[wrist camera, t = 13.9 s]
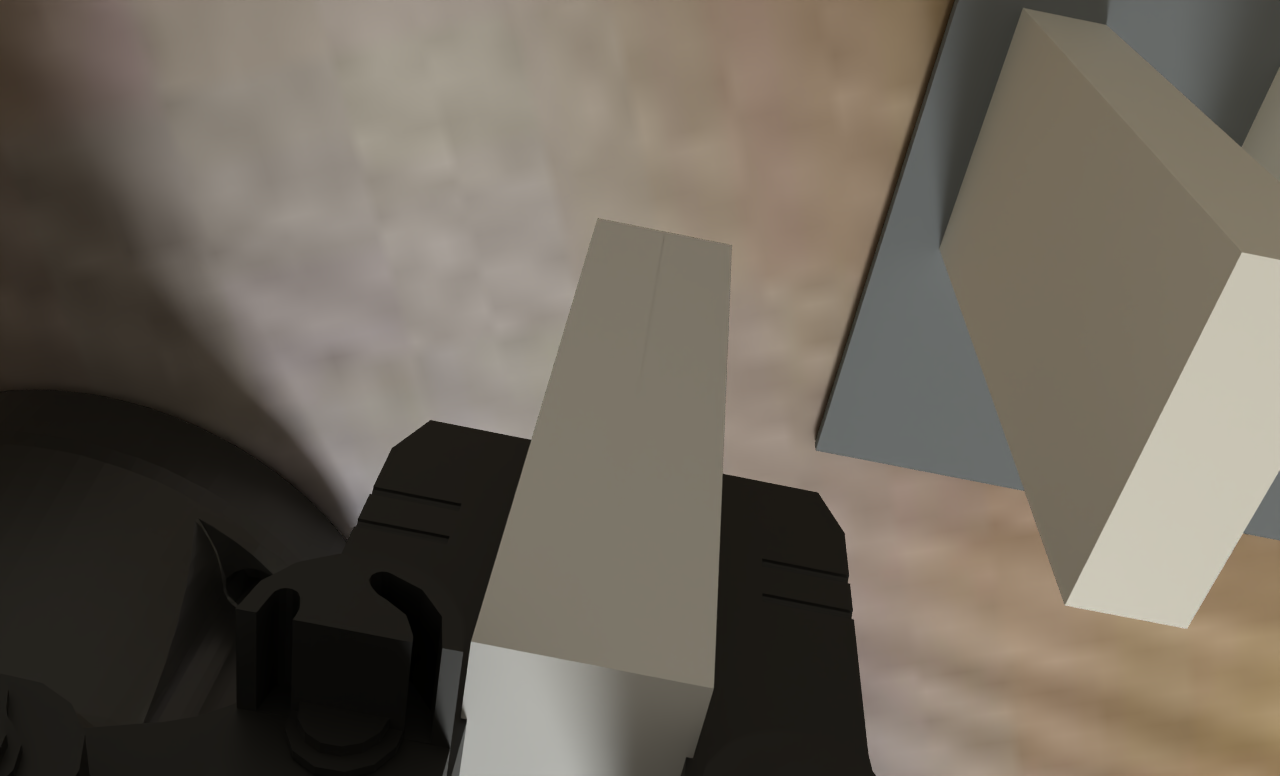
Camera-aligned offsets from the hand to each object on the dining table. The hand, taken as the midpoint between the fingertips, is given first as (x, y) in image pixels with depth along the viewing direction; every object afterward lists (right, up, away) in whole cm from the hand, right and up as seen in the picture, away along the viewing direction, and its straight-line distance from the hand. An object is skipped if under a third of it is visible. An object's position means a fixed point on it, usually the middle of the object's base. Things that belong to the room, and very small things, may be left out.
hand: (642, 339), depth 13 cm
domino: (+7, +4, +10) cm, 13 cm away
